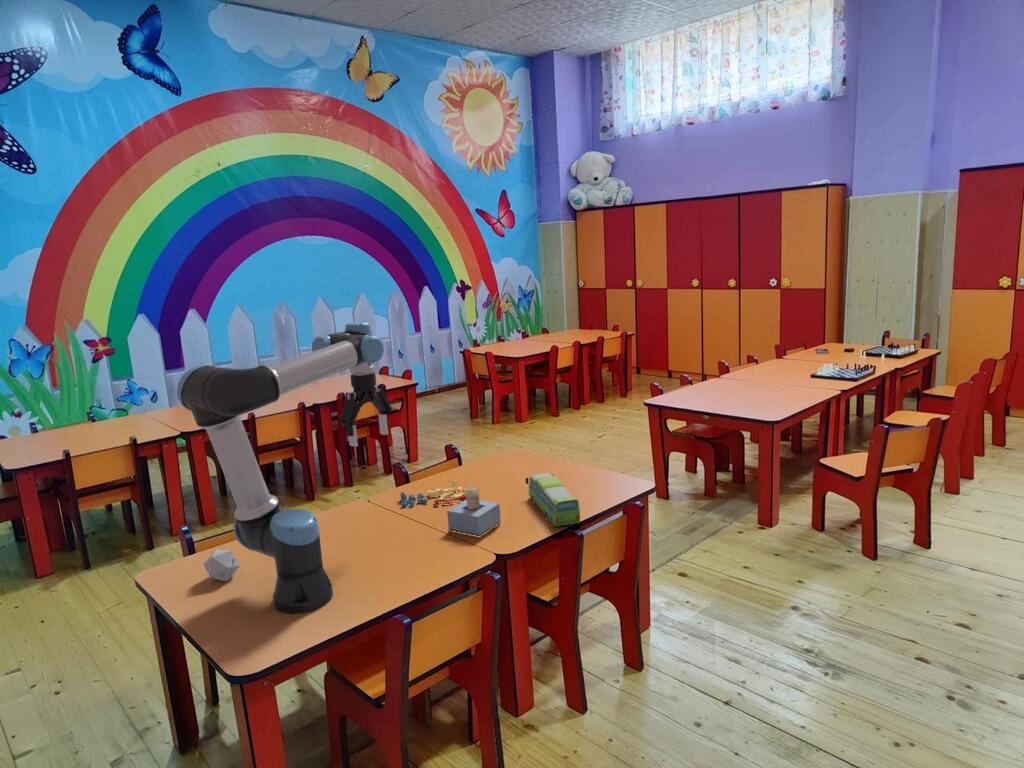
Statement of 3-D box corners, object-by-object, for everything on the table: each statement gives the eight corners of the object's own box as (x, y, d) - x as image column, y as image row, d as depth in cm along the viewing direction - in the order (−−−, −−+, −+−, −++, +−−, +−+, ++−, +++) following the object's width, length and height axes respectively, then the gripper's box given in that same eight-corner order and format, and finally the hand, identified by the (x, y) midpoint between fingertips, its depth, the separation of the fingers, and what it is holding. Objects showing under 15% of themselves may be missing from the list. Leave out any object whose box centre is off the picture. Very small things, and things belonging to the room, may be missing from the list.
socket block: (479, 538, 217) (478, 516, 215) (448, 531, 223) (447, 510, 222) (500, 523, 227) (499, 503, 225) (470, 517, 233) (469, 498, 231)
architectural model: (512, 481, 268) (512, 468, 266) (526, 493, 254) (525, 479, 253) (396, 501, 253) (395, 487, 252) (404, 515, 240) (403, 500, 239)
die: (211, 591, 193) (230, 561, 193) (191, 570, 197) (210, 541, 196) (232, 587, 201) (251, 559, 201) (213, 568, 204) (231, 540, 204)
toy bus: (553, 493, 251) (552, 467, 249) (584, 525, 222) (583, 496, 220) (526, 497, 249) (524, 471, 247) (553, 531, 219) (551, 501, 217)
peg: (476, 527, 222) (473, 492, 220) (466, 525, 224) (463, 490, 222) (483, 523, 225) (480, 488, 223) (473, 521, 227) (470, 486, 225)
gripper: (341, 381, 200) (349, 452, 204) (399, 366, 221) (404, 430, 225) (323, 380, 204) (331, 449, 208) (381, 365, 225) (387, 428, 229)
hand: (369, 440), depth 217 cm, fingers open, 13 cm apart
